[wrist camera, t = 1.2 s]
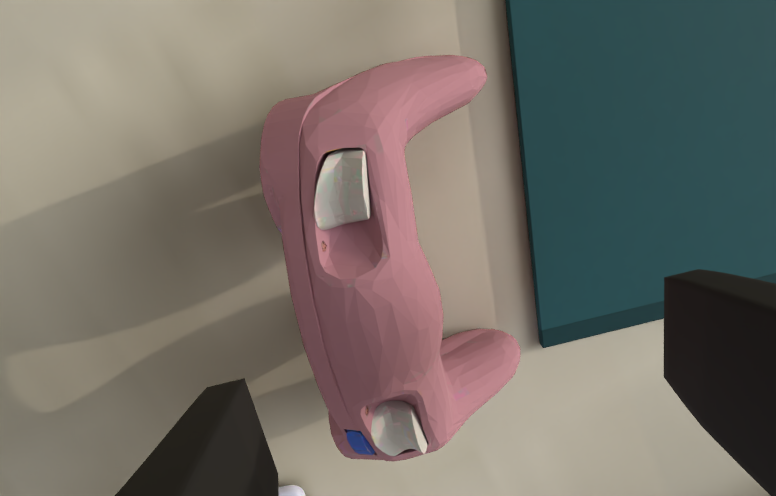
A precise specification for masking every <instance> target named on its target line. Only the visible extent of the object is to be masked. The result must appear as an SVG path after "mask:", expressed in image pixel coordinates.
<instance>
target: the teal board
mask: <svg viewBox="0 0 776 496" xmlns="http://www.w3.org/2000/svg"><path fill="white" fill-rule="evenodd" d="M505 1H506V11H507V21H508V31H509V41H510V51H511V61H512V71H513V81H514V91H515V101H516V111H517V121H518V131H519V141H520V151H521V161H522V171H523V181H524V191H525V201H526V211H527V221H528V231H529V241H530V251H531V261H532V271H533V281H534V291H535V301H536V311H537V321H538V331H539V341H540V344H541V346H542V347H543V348H545V347H549V346H553V345H557V344H562V343H566V342H570V341H574V340H578V339H582V338H586V337H590V336H594V335H598V334H602V333H606V332H610V331H614V330H618V329H622V328H626V327H630V326H634V325H639V324H643V323H647V322H651V321H655V320H659V319H663V318H664V277H667V276H672V275H676V274H680V273H684V272H688V271H692V270H697V269H702V270H710V271H717V272H723V273H728V274H733V275H738V276H743V277H748V278H753V279H757V280H762V281H766V282H771V283H775V284H776V0H505Z"/></svg>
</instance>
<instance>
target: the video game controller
mask: <svg viewBox="0 0 776 496" xmlns="http://www.w3.org/2000/svg"><path fill="white" fill-rule="evenodd" d="M486 80H487V73H486V70H485V67H484V66H483V65H482V64H480V63H479V62H478V61H476V60H474V59H471V58H468V57H464V56H455V55H442V56H423V57H415V58H410V59H406V60H402V61H398V62H391V63H386V64H382V65H379V66H377V67H374V68H372V69H369V70H367V71H364V72H362V73H359V74H358V75H355V76H353V77H351V78H348V79H346V80H344V81H342V82H340V83H337V84H335V85H333V86H331V87H328V88H326V89H324V90H322V91H319V92H317V93H315V94H312V95H306V96H301V97H295V98H290V99H285V100H283V101H280V102H278V103H277V104H276V105H274V106H273V107H272V109H271V111H270V112H269V114H268V115H267V118H266V121H265V123H264V128H263V132H262V137H261V150H260V165H259V168H260V175H261V183H262V189H263V194H264V198H265V201H266V203H267V206H268V209H269V211H270V213H271V216H272V218H273V220H274V222H275V224H276V227H277V228H278V230H279V231H280V232H281V233H282V241H283V247H284V254H285V260H286V266H287V273H288V279H289V286H290V292H291V297H292V301H293V305H294V309H295V313H296V317H297V321H298V325H299V329H300V333H301V337H302V340H303V344H304V348H305V351H306V354H307V357H308V359H309V362H310V365H311V368H312V371H313V373H314V376H315V379H316V382H317V385H318V387H319V389H320V392H321V394H322V397H323V399H324V401H325V404H326V406H327V408H328V410H329V423H330V429H331V434H332V437H333V439H334V442H335V444H336V446H337V448H338V449H339V451H340V452H341V453H342V454H343V455H344V456H345V457H348V458H351V459H372V460H385V461H399V460H406V459H409V458H413V457H416V456H419V455H423V454H426V453H430V452H433V451H436V450H438V449H440V448H441V447H443V446H444V445H445V444H446V443H447V442H448V441H449V440H450V439H451V438H452V437H453V436H454V434H455V433H456V432H457V431H458V430H459V428H460V427H461V426H462V425H463V424H464V422H465V421H466V420H467V419H468V418H469V417H470V416H471V415H472V414H473V413H474V412H475V411H477V410H478V409H479V408H480V407H481V406H482V405H484V404H485V403H486V402H487V401H488V400H489V399H491V398H492V397H493V396H494V395H495V394H496V393H498V392H499V391H500V389H501V388H502V387H503V386H504V385H505V384H506V383H507V382H508V381H509V380H510V379H511V378H512V377H513V375H514V374H515V372H516V369H517V367H518V364H519V362H520V347H519V345H518V342H517V340H516V339H515V338H514V337H513V336H511V335H509V334H507V333H505V332H503V331H499V330H495V329H474V330H469V331H465V332H460V333H457V334H455V335H452V336H450V337H447V338H445V339H442V333H443V309H442V303H441V296H440V290H439V288H438V285H437V283H436V280H435V278H434V276H433V273H432V271H431V268H430V266H429V264H428V261H427V259H426V257H425V255H424V253H423V251H422V248H421V246H420V244H419V242H418V235H417V228H416V221H415V214H414V207H413V201H412V194H411V189H410V183H409V178H408V172H407V167H406V162H405V146H406V144H407V143H408V142H409V141H410V139H411V138H412V137H413V136H414V135H416V134H417V133H418V132H420V131H421V130H423V129H424V128H425V127H427V126H428V125H429V124H431V123H432V122H434V121H436V120H438V119H440V118H442V117H444V116H445V115H447V114H449V113H451V112H453V111H455V110H457V109H459V108H460V107H462V106H464V105H466V104H468V103H469V102H470V101H471V100H472V99H473V98H474V97H475V96H476V95H477V94H478V92H479V91H480V90H481V89H482V87H483V86H484V84H485V82H486Z"/></svg>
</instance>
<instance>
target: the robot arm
mask: <svg viewBox="0 0 776 496" xmlns="http://www.w3.org/2000/svg"><path fill="white" fill-rule="evenodd" d="M664 378H665V379H666V380H667V382H668V383H669V384H670V386H671V387H672V389H673V390H674V391H675V393H676V394H677V395H678V397H679V398H680V399H681V401H682V402H683V403H684V405H685V406H686V407H687V408H688V410H689V411H690V412H691V413H692V415H693V416H694V417H695V418H696V420H697V421H698V422H699V423H700V425H701V426H702V427H703V428H704V429H705V430H706V431H707V432H708V433H709V434H710V435H711V436H712V437H713V438H714V439H715V440H716V441H717V442H718V443H719V444H720V445H721V446H722V447H723V448H724V449H725V450H726V451H727V452H728V453H729V454H730V455H731V456H732V457H733V458H734V460H735V461H736V462H737V463H738V464H739V465H740V466H741V467H742V468H743V469H744V470H745V471H746V472H747V473H748V474H750V475H751V476H752V477H753V478H754V479H755V480H756V481H757V482H758V483H759V484H760V485H761V486H762V487H763V488H764V489H765V490H766V491H767V492H768V493H769V494H770V495H771V496H776V284H775V283H771V282H766V281H762V280H757V279H753V278H748V277H743V276H738V275H733V274H728V273H723V272H717V271H710V270H702V269H697V270H692V271H688V272H684V273H680V274H676V275H672V276H667V277H664ZM115 496H306V495H305V492H304V491H303V489H302V488H300V487H299V486H296V485H286V486H282V487H278V472H277V469H276V467H275V464H274V461H273V458H272V455H271V452H270V450H269V447H268V444H267V441H266V438H265V435H264V433H263V430H262V427H261V424H260V421H259V419H258V416H257V413H256V410H255V407H254V404H253V402H252V399H251V396H250V393H249V390H248V387H247V385H246V382H245V379H240V380H236V381H232V382H228V383H223V384H219V385H215V386H211V387H207V388H206V389H205V390H204V391H203V392H202V394H201V395H200V396H199V397H198V398H197V399H196V400H195V401H194V403H193V404H192V405H191V406H190V407H189V408H188V410H187V411H186V412H185V413H184V414H183V416H182V417H181V418H180V419H179V421H178V422H177V423H176V424H175V425H174V427H173V428H172V429H171V430H170V431H169V433H168V434H167V435H166V436H165V438H164V439H163V440H162V441H161V442H160V444H159V445H158V446H157V447H156V448H155V449H154V451H153V452H152V453H151V454H150V455H149V457H148V458H147V459H146V460H145V461H144V463H143V464H142V465H141V466H140V467H139V468H138V470H137V471H136V472H135V473H134V474H133V476H132V477H131V478H130V479H129V480H128V481H127V483H126V484H125V485H124V486H123V487H122V488H121V489H120V490H119V492H118V493H117V494H116V495H115Z"/></svg>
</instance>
